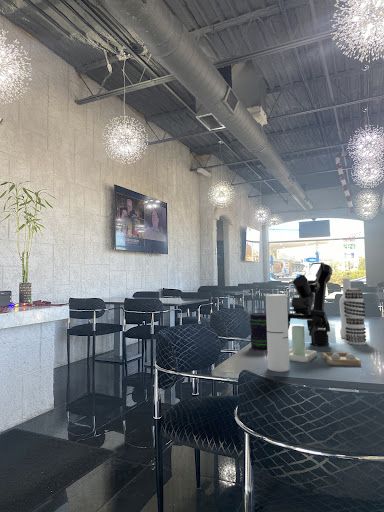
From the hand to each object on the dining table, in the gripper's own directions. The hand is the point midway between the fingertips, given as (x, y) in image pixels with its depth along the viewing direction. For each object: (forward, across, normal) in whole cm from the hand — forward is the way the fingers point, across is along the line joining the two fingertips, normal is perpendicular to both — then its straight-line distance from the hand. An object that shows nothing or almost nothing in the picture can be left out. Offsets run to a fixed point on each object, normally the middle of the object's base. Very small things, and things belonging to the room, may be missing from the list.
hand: (297, 334), depth 133 cm
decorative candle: (-24, +13, +37) cm, 46 cm away
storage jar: (-1, -19, +14) cm, 24 cm away
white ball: (+7, +14, +4) cm, 16 cm away
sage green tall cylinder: (+5, 0, +6) cm, 8 cm away
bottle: (-33, +8, +46) cm, 57 cm away
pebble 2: (+6, +18, +6) cm, 20 cm away
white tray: (+6, 0, +7) cm, 9 cm away
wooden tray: (+5, +15, +8) cm, 17 cm away
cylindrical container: (+20, -1, -7) cm, 21 cm away
